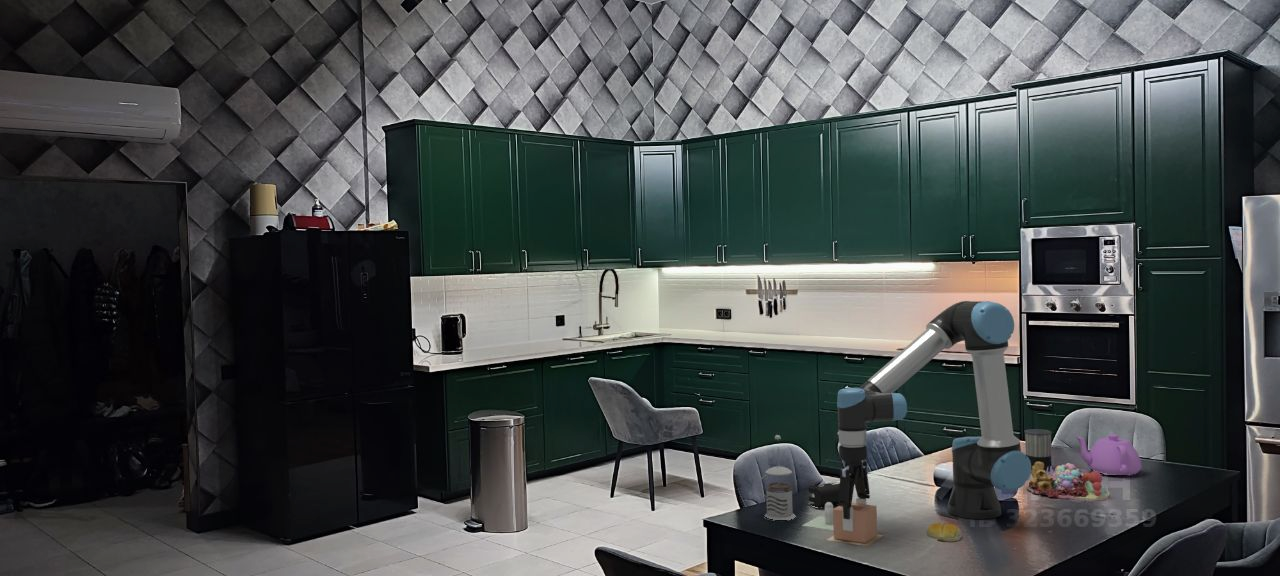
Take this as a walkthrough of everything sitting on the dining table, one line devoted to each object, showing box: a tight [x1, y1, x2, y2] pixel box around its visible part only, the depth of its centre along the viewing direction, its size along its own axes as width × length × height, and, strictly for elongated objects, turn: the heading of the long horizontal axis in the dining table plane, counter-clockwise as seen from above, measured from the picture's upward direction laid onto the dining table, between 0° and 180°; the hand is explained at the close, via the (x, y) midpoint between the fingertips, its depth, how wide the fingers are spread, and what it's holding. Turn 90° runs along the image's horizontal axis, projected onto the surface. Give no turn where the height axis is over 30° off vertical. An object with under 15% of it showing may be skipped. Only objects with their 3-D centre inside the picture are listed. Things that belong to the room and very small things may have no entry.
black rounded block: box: [808, 482, 840, 509], centre depth 291 cm, size 10×7×7 cm
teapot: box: [1073, 433, 1142, 475], centre depth 325 cm, size 22×22×14 cm
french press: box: [757, 434, 797, 521], centre depth 280 cm, size 10×12×25 cm
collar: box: [832, 502, 878, 543], centre depth 253 cm, size 9×9×8 cm
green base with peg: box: [801, 502, 834, 531], centre depth 268 cm, size 12×12×7 cm
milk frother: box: [1024, 428, 1053, 472], centre depth 333 cm, size 14×16×15 cm
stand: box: [825, 533, 885, 547], centre depth 253 cm, size 12×12×6 cm
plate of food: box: [1025, 462, 1111, 502], centre depth 301 cm, size 25×24×9 cm
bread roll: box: [926, 522, 963, 543], centre depth 252 cm, size 8×9×4 cm
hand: (855, 526), depth 253 cm, fingers closed on collar, 9 cm apart
